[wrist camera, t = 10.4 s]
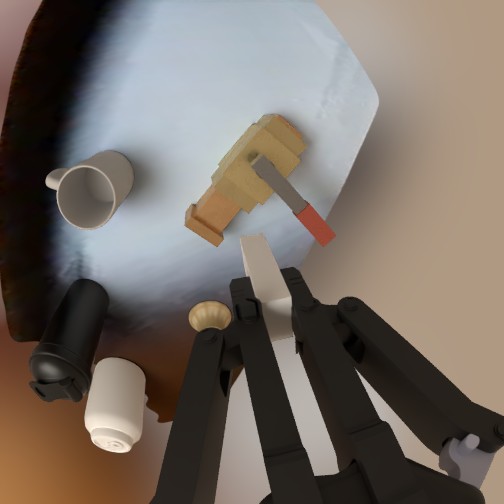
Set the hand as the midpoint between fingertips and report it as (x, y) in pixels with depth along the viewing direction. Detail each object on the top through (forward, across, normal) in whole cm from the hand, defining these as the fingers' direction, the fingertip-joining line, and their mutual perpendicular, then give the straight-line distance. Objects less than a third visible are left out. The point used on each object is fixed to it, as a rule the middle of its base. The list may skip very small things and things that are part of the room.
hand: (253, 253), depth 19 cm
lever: (+21, +8, -4) cm, 22 cm away
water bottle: (+27, -30, -19) cm, 44 cm away
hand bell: (+27, -7, -28) cm, 40 cm away
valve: (+28, +2, -2) cm, 28 cm away
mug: (+28, -19, +2) cm, 34 cm away
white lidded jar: (+26, -32, -41) cm, 59 cm away
